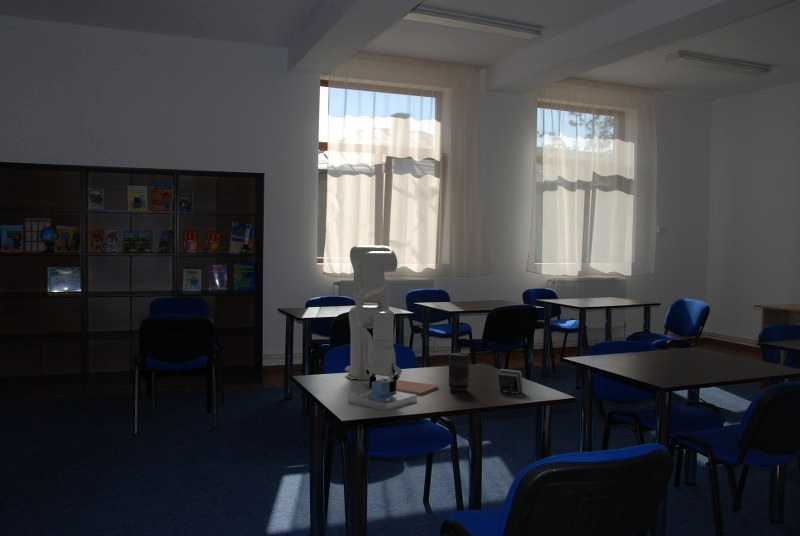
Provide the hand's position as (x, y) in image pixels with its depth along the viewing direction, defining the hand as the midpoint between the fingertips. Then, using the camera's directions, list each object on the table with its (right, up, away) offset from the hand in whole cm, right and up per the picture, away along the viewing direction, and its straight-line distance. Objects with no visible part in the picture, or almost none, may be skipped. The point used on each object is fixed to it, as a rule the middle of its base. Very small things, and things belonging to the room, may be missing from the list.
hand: (382, 389), depth 239 cm
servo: (0, -4, 0) cm, 4 cm away
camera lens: (+30, -4, +18) cm, 35 cm away
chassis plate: (0, -4, -1) cm, 5 cm away
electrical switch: (+51, -5, +17) cm, 54 cm away
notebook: (+7, -4, +23) cm, 24 cm away
